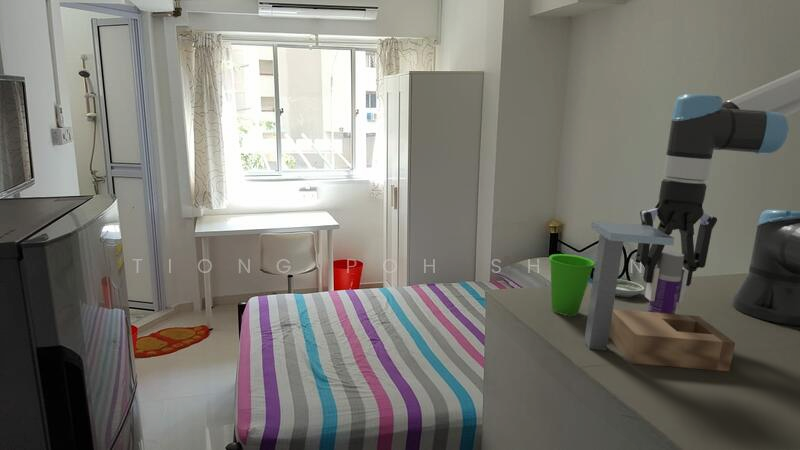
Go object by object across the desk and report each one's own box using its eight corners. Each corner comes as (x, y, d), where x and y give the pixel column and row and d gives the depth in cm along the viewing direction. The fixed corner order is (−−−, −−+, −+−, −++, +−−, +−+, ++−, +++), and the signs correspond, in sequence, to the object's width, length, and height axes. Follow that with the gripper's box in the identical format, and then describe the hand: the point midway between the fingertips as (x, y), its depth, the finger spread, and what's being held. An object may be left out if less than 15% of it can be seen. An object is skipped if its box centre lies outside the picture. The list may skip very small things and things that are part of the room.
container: (674, 333, 105) (688, 257, 102) (648, 330, 106) (661, 254, 103) (668, 324, 110) (681, 251, 107) (643, 321, 111) (655, 249, 108)
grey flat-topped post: (630, 338, 101) (649, 225, 97) (652, 362, 92) (674, 238, 87) (575, 333, 102) (592, 221, 97) (592, 357, 92) (610, 233, 88)
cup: (533, 308, 114) (540, 257, 111) (558, 301, 120) (564, 252, 117) (572, 322, 107) (580, 268, 105) (596, 314, 113) (604, 262, 111)
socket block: (694, 341, 102) (698, 316, 101) (729, 371, 90) (735, 342, 89) (606, 334, 102) (610, 308, 101) (630, 363, 91) (635, 334, 90)
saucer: (630, 288, 134) (632, 278, 133) (651, 302, 124) (652, 291, 124) (592, 286, 133) (593, 276, 132) (609, 300, 123) (611, 289, 123)
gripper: (722, 181, 106) (700, 297, 110) (628, 174, 106) (610, 290, 111) (744, 186, 98) (720, 310, 103) (644, 178, 99) (624, 302, 103)
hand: (663, 299), depth 107 cm, fingers closed on container, 5 cm apart
